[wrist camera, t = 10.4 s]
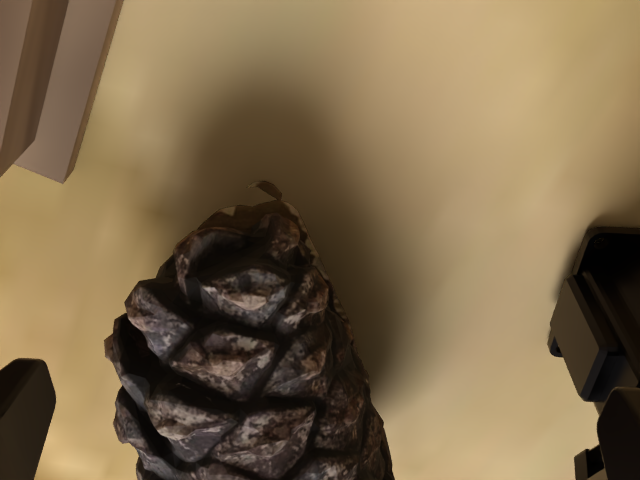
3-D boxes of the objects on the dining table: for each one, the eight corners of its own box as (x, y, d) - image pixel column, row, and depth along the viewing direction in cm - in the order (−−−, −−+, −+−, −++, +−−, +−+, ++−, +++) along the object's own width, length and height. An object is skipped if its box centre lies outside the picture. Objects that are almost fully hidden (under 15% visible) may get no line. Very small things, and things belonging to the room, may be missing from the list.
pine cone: (314, 140, 22) (297, 340, 13) (410, 448, 31) (434, 673, 23) (54, 204, 24) (-100, 414, 15) (220, 475, 33) (180, 693, 25)
